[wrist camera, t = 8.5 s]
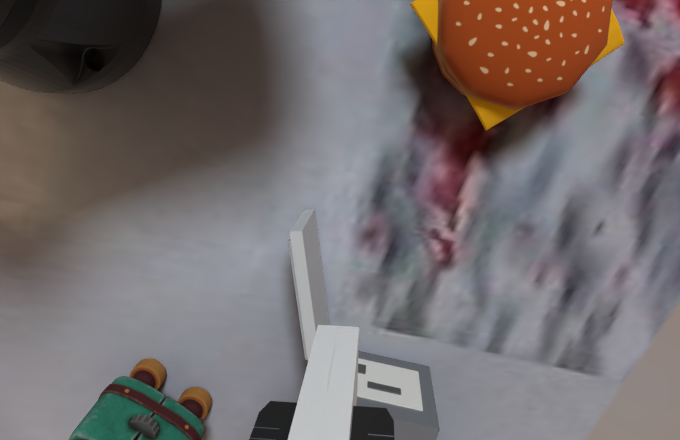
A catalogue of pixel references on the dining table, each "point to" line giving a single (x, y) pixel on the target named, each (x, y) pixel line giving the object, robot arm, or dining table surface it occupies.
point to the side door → (308, 277)
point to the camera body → (399, 395)
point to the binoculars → (144, 409)
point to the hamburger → (517, 48)
